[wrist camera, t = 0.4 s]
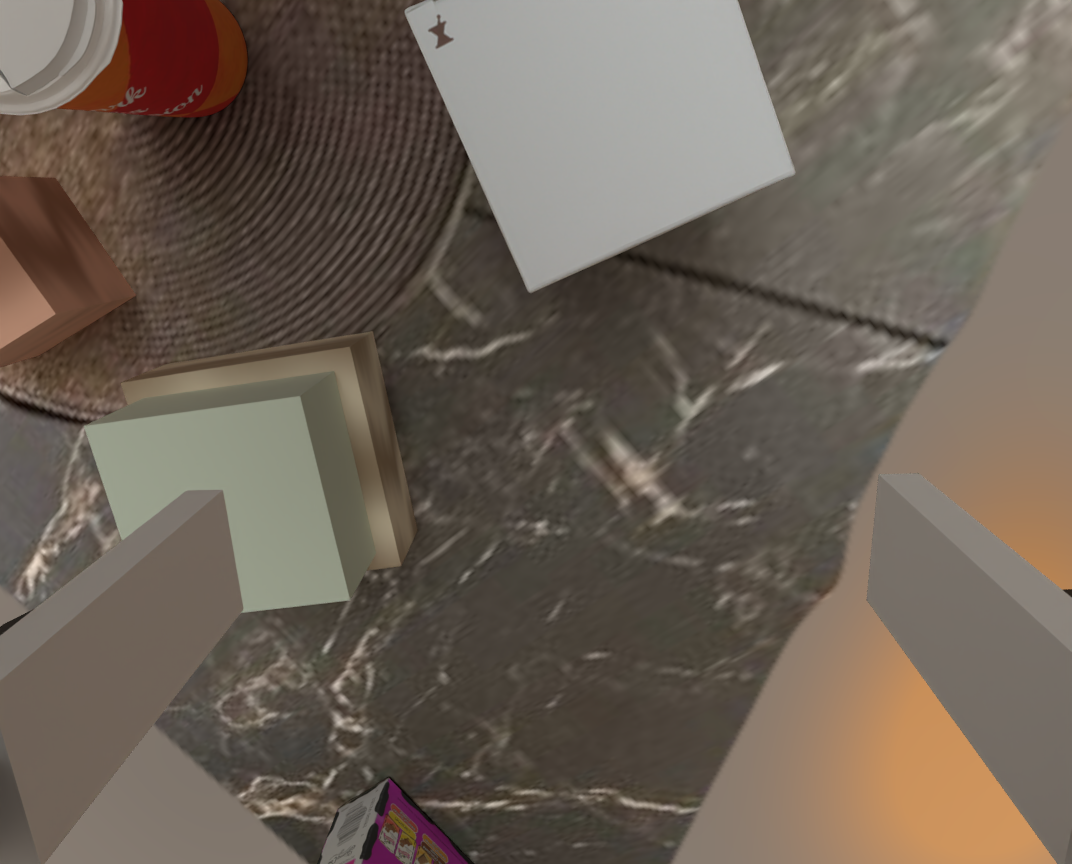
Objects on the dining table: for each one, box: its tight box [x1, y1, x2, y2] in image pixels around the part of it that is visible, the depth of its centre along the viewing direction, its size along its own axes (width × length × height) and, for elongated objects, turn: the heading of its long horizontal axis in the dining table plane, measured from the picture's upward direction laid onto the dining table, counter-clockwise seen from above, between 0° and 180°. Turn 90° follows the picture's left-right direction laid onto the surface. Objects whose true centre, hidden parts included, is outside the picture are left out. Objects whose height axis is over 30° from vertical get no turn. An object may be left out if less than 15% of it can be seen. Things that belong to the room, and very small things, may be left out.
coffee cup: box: [0, 0, 248, 117], centre depth 31 cm, size 8×8×15 cm
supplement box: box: [405, 0, 796, 293], centre depth 31 cm, size 10×9×17 cm
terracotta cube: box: [0, 176, 136, 367], centre depth 39 cm, size 7×7×7 cm
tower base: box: [121, 331, 418, 570], centre depth 42 cm, size 12×12×5 cm
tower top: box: [84, 371, 376, 613], centre depth 38 cm, size 10×10×5 cm
